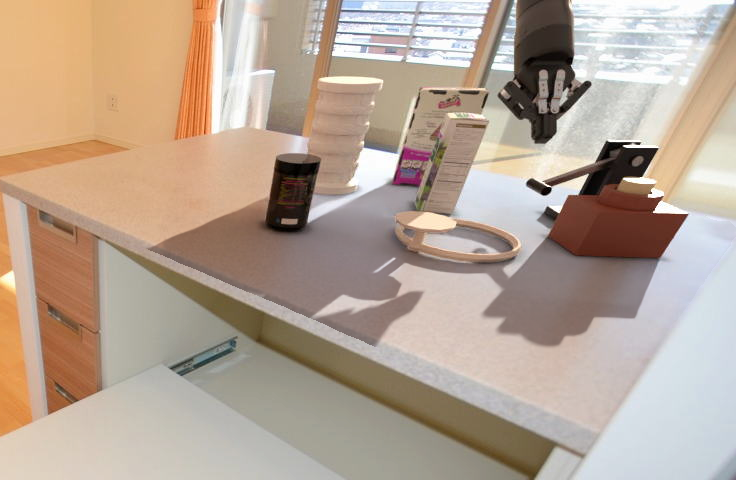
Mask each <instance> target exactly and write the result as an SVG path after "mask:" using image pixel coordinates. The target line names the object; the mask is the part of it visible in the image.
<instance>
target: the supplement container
mask: <svg viewBox="0 0 736 480" xmlns="http://www.w3.org/2000/svg"><path fill="white" fill-rule="evenodd" d="M320 163H321V158H320V157H318V156H315V155H310V154H307V153H299V152H298V153H297V152H291V153H290V152H287V153H281V154H277V155H276V156H275V161H274V167H273V173H272V178H271V186H270V190H269V196H268V201H267V208H266V213H265V220H264V222H265V225H266V227H267V228H269V229H270V230H273V231H275V232H281V233H296V232H299V231H302V230H304V228H306V227H307V225H308V222H309V216H310V213H311V212H310V211H311V208H312V202H313V198H314V194H315V193H314V189H315V185H316V180H317V176H318V172H319V168H320Z"/></svg>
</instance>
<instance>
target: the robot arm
mask: <svg viewBox="0 0 736 480" xmlns="http://www.w3.org/2000/svg"><path fill="white" fill-rule="evenodd" d="M574 59H575V15H574V9H573V4H572V0H516V3H515V30H514V36H513V76H514V77H513V79H512V80H509V81H508V82H506V83H505V85H503V87H502V88H501V89H500V90H499V92H498V93H497V98H498V99H499V100H500V101H501V102H502V103H503V105H505V107H506V108H507V109H508V110H509V111H510V112H511V114H513V115H514V117H515V118H516V119H517V120H519V121H524V119H525V120H528V122H529V123H530V137H531V140H532V141H533V143H534V144H535V145H546V144H547V143H548V142H549V141H550V140H552V139H553V137H554V136H556V134H557V133H558V120H560V119H561V118H562V117H563V116H564V115H565V114H567V112H568V111H570V110H571V108H573V107H574V105H575V104H576V103H577V102H578V101H579V100H580V99H581V98H582V96H584V95H585V93H586V92H587V91H588V90H589V89H590V88H592V84H593V83H592V81H590V80H585V81H583V82H581V81H579V80H578V79H576V71H575V69H574V68H573V63H574ZM565 90H567V92H566V95H565V98H566V99H565V100H564V101H563V103H562V104H561V105H560V102H561V100H562V98H563V93H564V92H565Z"/></svg>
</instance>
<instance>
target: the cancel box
mask: <svg viewBox="0 0 736 480" xmlns="http://www.w3.org/2000/svg"><path fill="white" fill-rule="evenodd" d="M618 186H619V184H610V185H605V186H604V188H603V190H602V191H601V193H600V195H578V194H568V195H567V197H566V199H565V200H564V203H563V205H562V206H563V207H562V209H561V211H560V212H559V214H558V216H557V218H556V220H554V222H553V224H552V227H551V228H550V230H549V232H548V234H547V237H548V238H550V239H551V240H552V241H554V242H555V243H557V244H558V245H560V246H561V247H562V248H564V249H565V250H567V251H568V252H569V253H571V254H573V255H574V256H581V257H583V256H585V257H586V256H587V257H612V258H613V257H614V258H615V257H616V258H643V259H661V258H662V256H663V255H664V253H665V251H666V250H667V248H668V247H669V245H670V244H671V243H672V241H673V240H674V238H675V236H676V235H677V233H678V232H679V230H680V229H681V227H682V226H683V224H684V222H685V221H686V220H687V218H688V216H689V215H690V213H689V212H686V211H684V210H681V209H679V208H678V207H675V206H673V205H671V204H668V203H666V202H664V201H662V200H663V198H664V197H665V194H664V191H662V190H658V189H656V188H653V189H652V191H651V192H650V194H649V195H638V194H631V193H625V192H621V191H618V190H617V188H618Z"/></svg>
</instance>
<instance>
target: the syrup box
mask: <svg viewBox="0 0 736 480" xmlns="http://www.w3.org/2000/svg"><path fill="white" fill-rule="evenodd" d="M489 123H490V120H488V119H487V118H485V116H484V115H483V114H481V115H478V114H472V113H446V115H445V117H444V120H443V123H442V126H441V129H440V131H439V134H438V137H437V140H436V142H435V145H434V148H433V151H432V153H431V156H430V159H429V162H428V164H427V167H426V170H425V173H424V176H423V178H422V181H421V184H420V187H418V190H417V192H416V196H415V199H414V205H415V208H416V211H418V212H430V213H435V214H450V215H451V214H454V211H455V209H456V207H457V203H458V201H459V198H460V196H461V193H462V191H463V189H464V186H465V184H466V181H467V180H468V179H467V178H468V176H469V173H470V171H471V169H472V167H473V164H474V161H475V158H476V156H477V154H478V151H479V149H480V146H481V144H482V141H483V139H484V136H485V134H486V131H487V128H488V126H489Z"/></svg>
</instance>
